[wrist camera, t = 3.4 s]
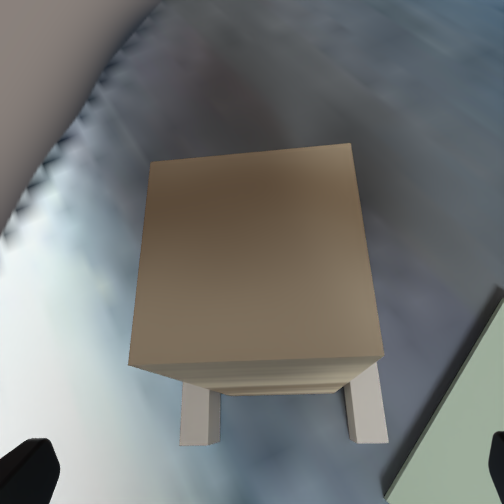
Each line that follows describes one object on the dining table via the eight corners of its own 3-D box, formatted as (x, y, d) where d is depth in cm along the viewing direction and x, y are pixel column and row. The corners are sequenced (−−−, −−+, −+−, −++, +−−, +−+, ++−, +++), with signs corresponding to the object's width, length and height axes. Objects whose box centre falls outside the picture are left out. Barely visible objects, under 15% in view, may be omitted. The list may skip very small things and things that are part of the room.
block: (333, 393, 18) (384, 355, 7) (230, 396, 18) (127, 365, 8) (323, 293, 20) (350, 143, 9) (230, 298, 20) (150, 161, 10)
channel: (376, 439, 17) (388, 442, 15) (195, 442, 18) (179, 445, 15) (342, 191, 22) (347, 165, 20) (204, 202, 23) (193, 179, 21)
